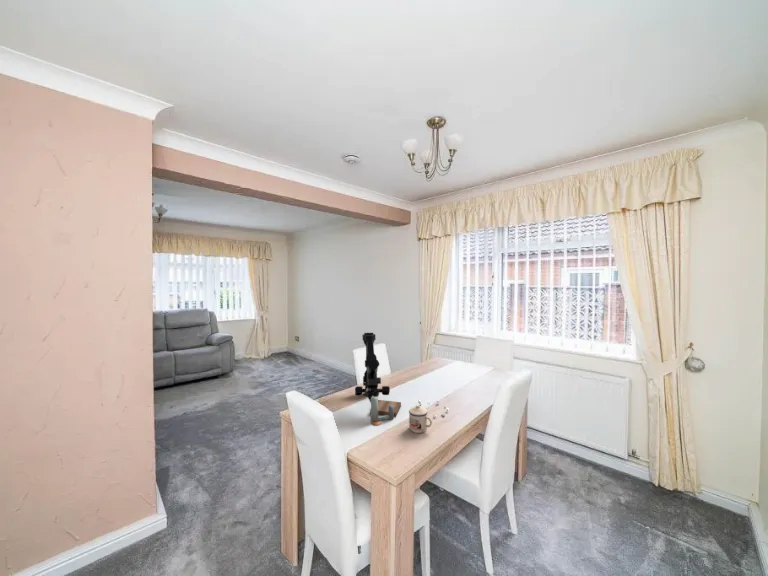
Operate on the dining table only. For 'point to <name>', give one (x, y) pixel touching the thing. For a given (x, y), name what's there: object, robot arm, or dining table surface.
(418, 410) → the teacup with lid
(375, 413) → the grey u-shaped piece
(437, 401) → the game piece set
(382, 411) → the stool seat
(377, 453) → the dining table surface
